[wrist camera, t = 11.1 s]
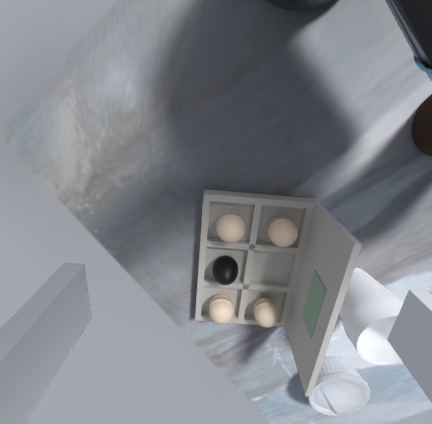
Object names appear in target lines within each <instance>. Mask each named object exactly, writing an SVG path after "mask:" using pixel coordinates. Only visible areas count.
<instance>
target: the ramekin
mask: <svg viewBox="0 0 432 424" xmlns="http://www.w3.org/2000/svg"><path fill="white" fill-rule="evenodd" d="M369 398H370V389H369V387H368V385H367V383H366V382H365V380H363V379H362V378H361V376H360V375H359V373H358V372H357V371H356V369H355V368H354V367H353V365H352V364H351V363H350V362H348V361H346V360H344V359H342V358H339V357H324V360H323V363H322V366H321V369H320V372H319V375H318V378H317V380H316V383H315V386H314V389H313V392H312V395H311V397H310V396H308V400H309V403H310V405H311V406H312V408H313V409H315V410H316V411H318V412H320V413H322V414H325V415H331V416H340V415H347V414H350V413H353V412H355V411H357V410H359V409H360V408H362V407H363V406H364V405H365V404H366V403H367V402H368V400H369Z"/></svg>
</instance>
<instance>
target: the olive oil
mask: <svg viewBox="0 0 432 424" xmlns="http://www.w3.org/2000/svg"><path fill="white" fill-rule="evenodd" d="M413 139H414V142H415V144H416V146H417V147H418V148H419V150H421V151H422V152H423V153H425V154H427V155H429V156H432V95H431V96H430V97H429V98H428V99H427V100H426V101H425V102H424V103H423V104H422V106H421V107H420V109H419V111H418V112H417V115H416V117H415V120H414V123H413Z"/></svg>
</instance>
